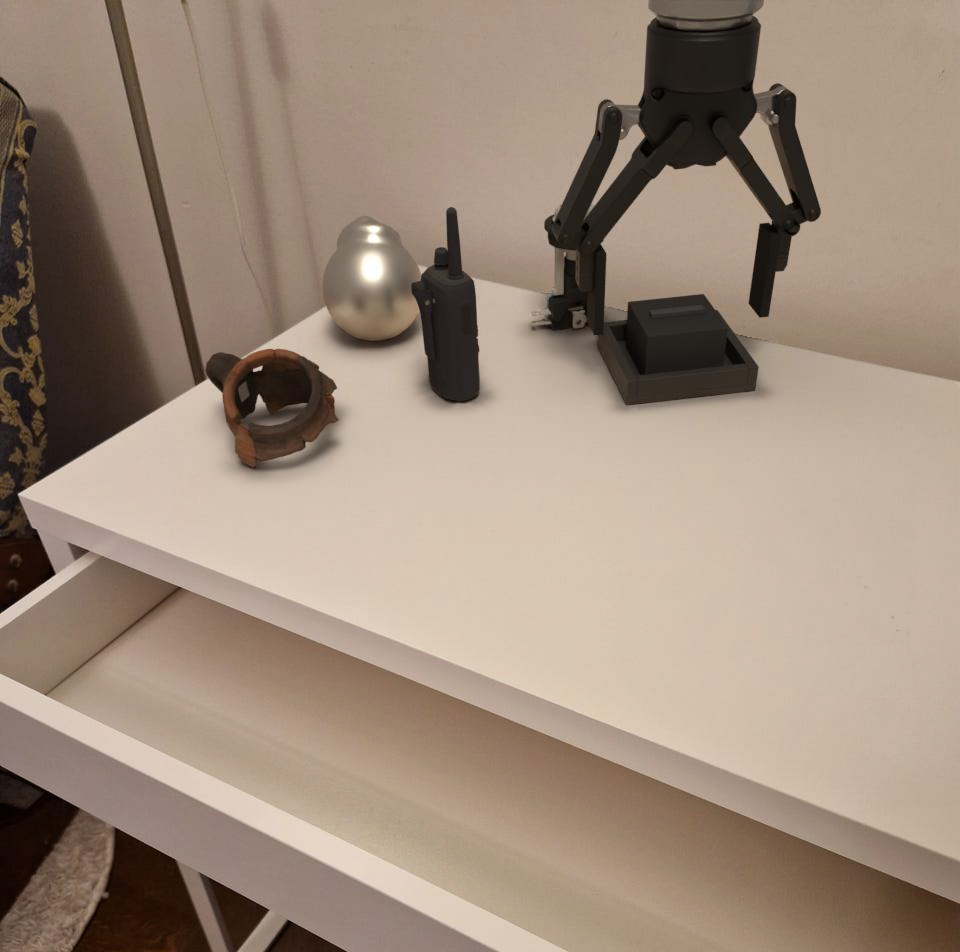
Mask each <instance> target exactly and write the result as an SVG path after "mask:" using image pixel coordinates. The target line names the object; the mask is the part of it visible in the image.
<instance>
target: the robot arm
mask: <svg viewBox="0 0 960 952" xmlns="http://www.w3.org/2000/svg"><path fill="white" fill-rule="evenodd" d="M647 2H648V3H647V9H648V10H649V11H650V12H651V13H652V14H653V15H654V16H655V17H654V18H653V19H652V20H651V21H650V23H649V24H648V25H647V26H646V39H645V59H644V60H645V61H644V75H643V76H644V77H643V91H642V95H641V98H640V100H639V102H638V103H637V104H635V105H634V104H615V103H614V101H613V100H611V99H608V98H605V99H602V100H601V101H600V103H598V107H597V111H596V120H595V127H594V134H593V136H592V138H591V141H590V142H589V145H588V147H587V149H586V151H585V153H584V156H583V158H582V160H581V162H580V165H579V167H578V168H577V171H576V172H575V175H574V178H573V179H572V182H571V184H570V186H569V188H568V190H567V193H566V194H565V196H564V199H563V201H562V203H561V204H560V205H561V208H560V210H559V212H558V214H557V216H556V218H555V221H554V223H553V225H552V231H553V233H554V235H555V237H556V239H557V241H558V243H559V245H560V246H562V247H572V248H575V249H576V276H575V279H576V282H577V284H578V287H579V289H580V291H581V292H582V293H583V292H588V297H587V322H588V324H589V325H588V326H589V328H590V330H591V332H592V334H593V336H596V337H597V335H603V332H604V322H605V304H606V303H605V302H606V281H607V280H606V278H607V277H606V276H607V254H608V253H607V251H606V250H605V248H604V247H603V245H602V243H603V242H604V241H605V238H606V237H608V235H609V233H610V232H611V231H612V229H614V227H615V226H616V225H617V223H618V222H619V221H620V219H621V218H622V217H623V216H624V214H625V213H626V212H627V211H628V209H629V208H630V207H631V206H632V204H633V203H634V202H635V201H636V199H637V198H638V197H639V195H640V194H642V192H643V191H644V190H645V188H646V187H647V185H648V184H649V183H650V182H651V181H652V180H655V179H656V178H657V177H658V176H659V175H660V174H661V173H662V171H663V170H664V169H665V167H666V166H668V167H669V168H671V167H672V169H673V170H682V169H683V170H685V169H688V168H690V167H692V166H696V165H698V166H702V167H716V166H717V163H718V162H721V161H722V160H723V159H725V158H726V159H727V160H728V161H729V162H730V164H731V166H732V167H733V168H734V170H735V171H736V173H737V174H738V175H739V177H740V178H741V179H742V181H743V182H744V183H745V185H746V186H747V188H748V189H749V191H750V192H751V194H753V196H754V197H755V199H756V201H757V202H758V203H759V205H760V206H761V207H762V208H763V210H764V212H765V213H766V214H767V216H768V217H769V218H770V220H771V223H770V222H762V223H759V225H758V231H757V232H758V233H757V238H756V246H755V254H754V260H753V261H754V262H753V267H752V275H751V282H750V289H749V297H748V302H747V303H748V305H749V306H750V308H751V309H752V310H753V312H754V313H755V314H756V315H757V316H758V318H759V319H760V318H768V317H769V318H770V310H771V305H772V299H773V298H772V297H773V290H774V285H775V279H776V273H778V272H784V271H785V269H787V268H786V267H787V266H788V263H789V255H790V250H791V243H792V237H794V236H796V235H798V233H800V230H801V225H802V224H804V223H806V222H809V223H813V222H816V221H817V220H818V219H819V218H820V216H821V215H822V209H821V206H820V203H819V199H818V196H817V193H816V189H815V186H814V182H813V179H812V176H811V173H810V169H809V167H808V163H807V160H806V156H805V153H804V150H803V147H802V144H801V143H802V142H801V139H800V137H799V133H798V130H797V127H796V117H797V116H796V115H797V95H796V94H795V93H794V92H792V90H790V89H789V88H787V87H786V86H784V85H783V84H782V83H780V82H779V83H777V82H776V83H774V84H772V85H771V86H770V87H769V89H768V90H767V91H761V92H757V93H754V81H755V77H756V69H757V62H758V56H759V55H758V54H759V46H760V38H761V30H762V23H760V22H759V19H758V18H757V17H756V16H755V15H754V14H756V13H757V12H759V11H760V10H761V9H762V8H763V7H764V4H765V0H648V1H647ZM756 114H759V119H760V120H761V121H762V122H763V123H765V124H766V125H767V126H768V131H769V134H770V137H771V140H772V143H773V146H774V150H775V152H776V155H777V158H778V162H779V164H780V168H781V172H782V174H783V176H784V177H783V178H784V181H785V183H786V187H787V189H788V192H789V196H790V198H791V201H792V202H790V203H788V204H786V203H785V202H784V200H783V199H782V197H781V196H780V195H779V193H778V191H777V190H776V188H775V187H774V186H773V184H772V183H771V181H770V180H769V179H768V177H767V176H766V174H765V173H764V172H763V170H762V169H761V167H760V165H759V164H758V163H757V161H756V160H755V159H754V156H753V154H752V153H751V151H750V150H749V149H748V148H747V146H746V145H745V143H744V141H743V140H742V138H741V136H742V134H743V133H744V132H745V131H746V129H747V128H748V126H749V125H750V123H751V122H752V121H753V119H754V118H755V116H756ZM635 125H637V126H638V127H639V129H640V131H641V132H642V134H643V135H644V137H643V138H642V139H641V141H640V142H639V144H638V145H637V146H636V147H635V149H634V150H633V151H632V154H631V156H630V159H629V161H628V162H627V163H626V165H625V166H624V167H623V168H622V170H621V171H620V172H619V174H618V175H617V176H616V178H615V179H614V180H613V182H612V183H611V184H610V185H609V187H608V188H607V189H606V190H605V192H604V193H603V194H602V195H601V197H600V198H599V200H598V201H597V202H596V203H595V205H594V207H593V209H592V210H591V211H590V213H589V214H588V215H587V216H586V214H587V212H588V210H589V208H590V205H592V203H593V202H594V199H595V197H596V195H597V193H598V191H599V189H600V187H601V185H602V183H603V180H604V179H605V176H606V174H607V172H608V170H609V168H610V166H611V164H612V161H613V160H614V157H615V155H616V152H617V150H618V146H619V143H620V141H622V140H624V139H625V138H626V137H628V134H629V132H630V130H631V128H632V127H634V126H635ZM585 216H586V218H585ZM584 218H585V219H584ZM603 240H604V241H603ZM602 241H603V242H602ZM601 242H602V243H601Z"/></svg>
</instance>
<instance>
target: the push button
mask: <svg viewBox="0 0 960 952" xmlns="http://www.w3.org/2000/svg"><path fill="white" fill-rule="evenodd" d="M561 205H562V204H560V205H559V206H556V207H555V209H554V213H553V214H551V215H549V216H547V217H546V219H545V220H544V222H543V223H544V227H543V228H544V230H545V231H546V232H547V240H548V244H549V245H550V246H551V247H553V248H554V287H551V293H548V294H547V295H546V308H541V309H540V310H533V311H531V312H530V314H531V316H532V317H537V316H543V315H544V316H546V317H545V318H541V319H537V320H532V321H530V323H531V325H532V326H533V327H534V326H540V325H542V326H543V325H544V326H546V325H549V326H550V327H551V328H552V330H554V331H557V330H564V329H570V328H573V329H581V328H584V326H589V324H588V322H587V297H588V292H583V293H582V292H581V291H580V289H579V287H578V284H577V282H576V279H575V276H576V249H575V248H572V247H562V246H560V245H559V243H558V241H557V239H556V237H555V235H554V233H553V231H552V225H553V223H554V221H555V218H556V216H557V214H558V212H559V210H560V208H561ZM594 206H595V205H594V204H591V205H590V208H589V210H588V212H587V214H586V216H587V215H588V214H589V213H590V211H591V210H592V209H593V207H594ZM586 216H585V218H586ZM585 218H584V219H585ZM604 241H605V239H604V240H603V241H602V242H601V244H602V243H603V242H604Z"/></svg>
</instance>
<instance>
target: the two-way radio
mask: <svg viewBox="0 0 960 952" xmlns="http://www.w3.org/2000/svg"><path fill="white" fill-rule="evenodd" d="M445 217H446V220H445V221H446V223H445V224H446V246H447V247H443V246H439V247H436V248H435V249H434V257H433V265H430V266H428V267H427V268H426V269H425V270H424V271H423V272H422V273H421V281H417V282H413V283H412V284H411V290H412V294H413V296H414V297H415V299H416V301H417V304H418V307H419V315H420V323H421V331H422V337H423V339H422V340H423V348H424V354H425V355H426V359H427V368H428V380H429V385H430V386H431V388H432V389H433V390H434V391H435V392H436V393H438V394H439V395H440V396H442V397H443V398H445V399H447V400H452V401H455V402H459V401H461V402H463V401H467V400H470V399H473V398H475V397H476V396H477V395H478V394H479V393H480V390H481V389H480V387H481V386H480V385H481V383H480V382H481V381H480V363H479V362H480V361H479V356H480V355H479V353H480V345H479V339H478V337H479V326H478V310H477V309H478V308H477V294H476V293H477V292H476V285H475V281H474V279H473V278H472V277H471V276H470V275H469V274H468V273H467V272H465V271H464V270H463V263H462V251H461V240H460V239H461V238H460V230H459V219H458V211H457V209H456V207H453V206H450V207H448V208H446V211H445Z"/></svg>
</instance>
